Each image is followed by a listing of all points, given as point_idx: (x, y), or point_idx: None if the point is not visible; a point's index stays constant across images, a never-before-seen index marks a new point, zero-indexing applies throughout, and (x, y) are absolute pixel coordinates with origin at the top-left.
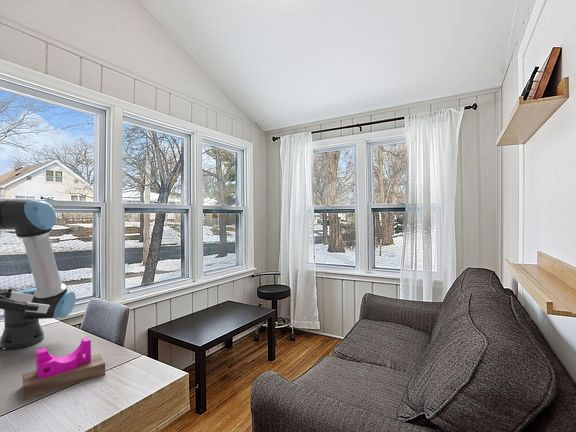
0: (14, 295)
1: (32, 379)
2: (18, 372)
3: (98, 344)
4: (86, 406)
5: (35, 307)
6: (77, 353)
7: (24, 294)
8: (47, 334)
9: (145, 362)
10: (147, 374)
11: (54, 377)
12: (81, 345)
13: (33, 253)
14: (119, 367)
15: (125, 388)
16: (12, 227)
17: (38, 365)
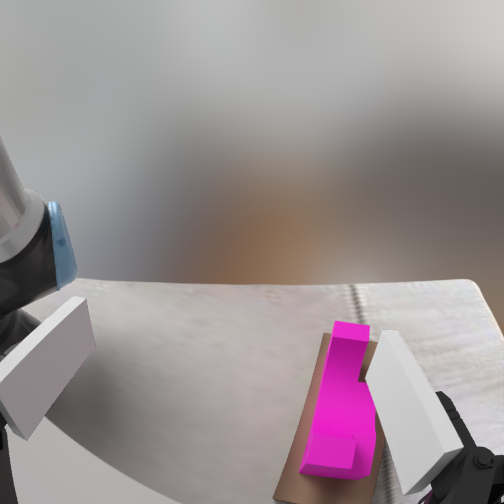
0: (18, 395)
1: (341, 491)
2: (164, 466)
3: (195, 298)
4: (484, 419)
5: (453, 412)
6: (357, 374)
7: (49, 336)
8: (37, 313)
9: (391, 293)
10: (443, 311)
11: (382, 450)
12: (347, 352)
13: None
14: (375, 330)
15: (468, 354)
16: None
17: (365, 475)
